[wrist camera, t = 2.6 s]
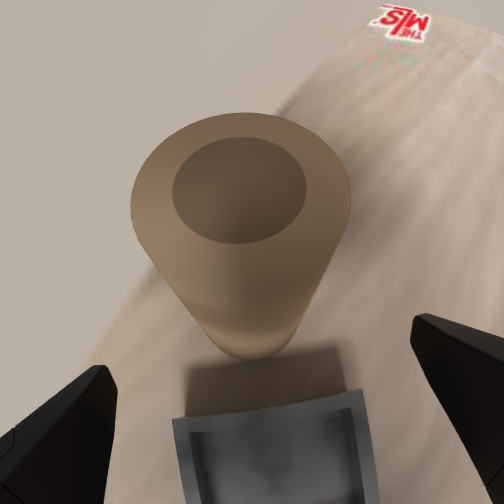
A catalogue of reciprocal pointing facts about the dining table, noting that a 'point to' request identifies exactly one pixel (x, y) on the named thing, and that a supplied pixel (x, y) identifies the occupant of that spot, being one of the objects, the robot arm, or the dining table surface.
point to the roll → (242, 224)
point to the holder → (280, 454)
